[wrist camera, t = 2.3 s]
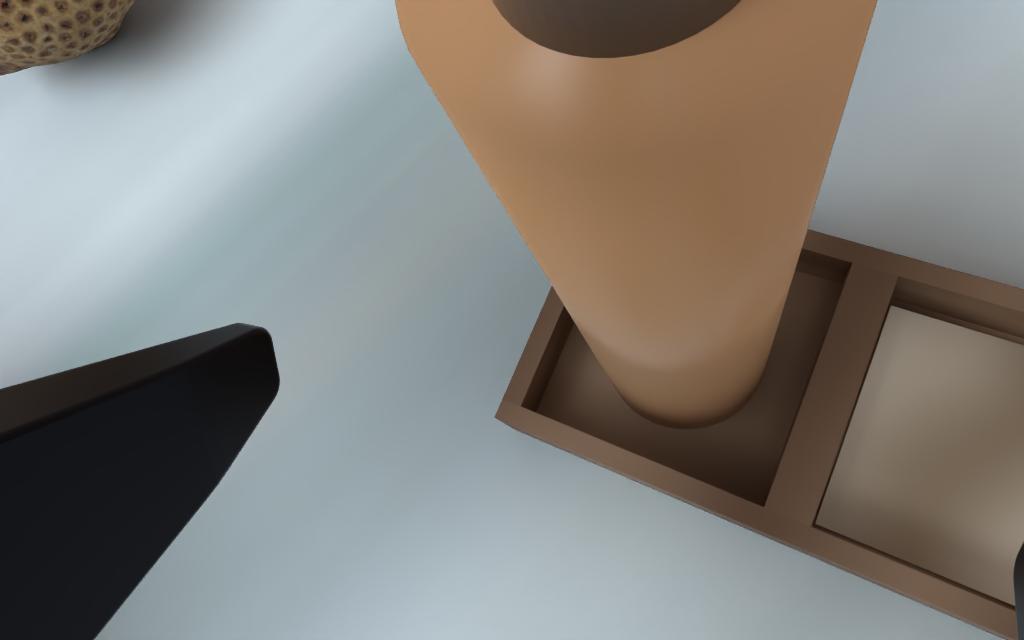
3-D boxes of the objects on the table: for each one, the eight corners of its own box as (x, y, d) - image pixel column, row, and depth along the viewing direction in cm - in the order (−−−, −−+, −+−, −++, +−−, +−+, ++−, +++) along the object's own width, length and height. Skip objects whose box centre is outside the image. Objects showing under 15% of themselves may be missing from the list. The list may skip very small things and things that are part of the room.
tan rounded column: (783, 413, 18) (1142, -231, 3) (621, 442, 19) (275, 45, 4) (744, 264, 19) (859, -699, 4) (594, 296, 20) (256, -423, 5)
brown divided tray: (1193, 376, 16) (1255, 353, 14) (1111, 684, 15) (1167, 703, 13) (611, 204, 21) (602, 171, 19) (514, 429, 20) (494, 417, 18)
